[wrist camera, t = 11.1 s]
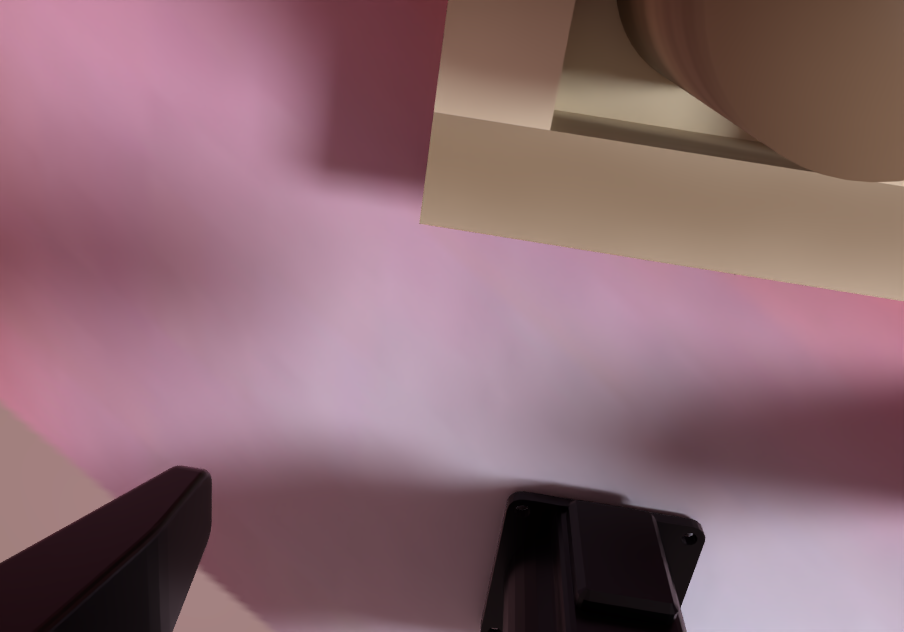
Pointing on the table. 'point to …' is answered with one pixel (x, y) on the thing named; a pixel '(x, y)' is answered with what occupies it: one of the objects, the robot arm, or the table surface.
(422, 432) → the table surface
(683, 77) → the peg
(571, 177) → the socket block
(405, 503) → the table surface
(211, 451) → the table surface
